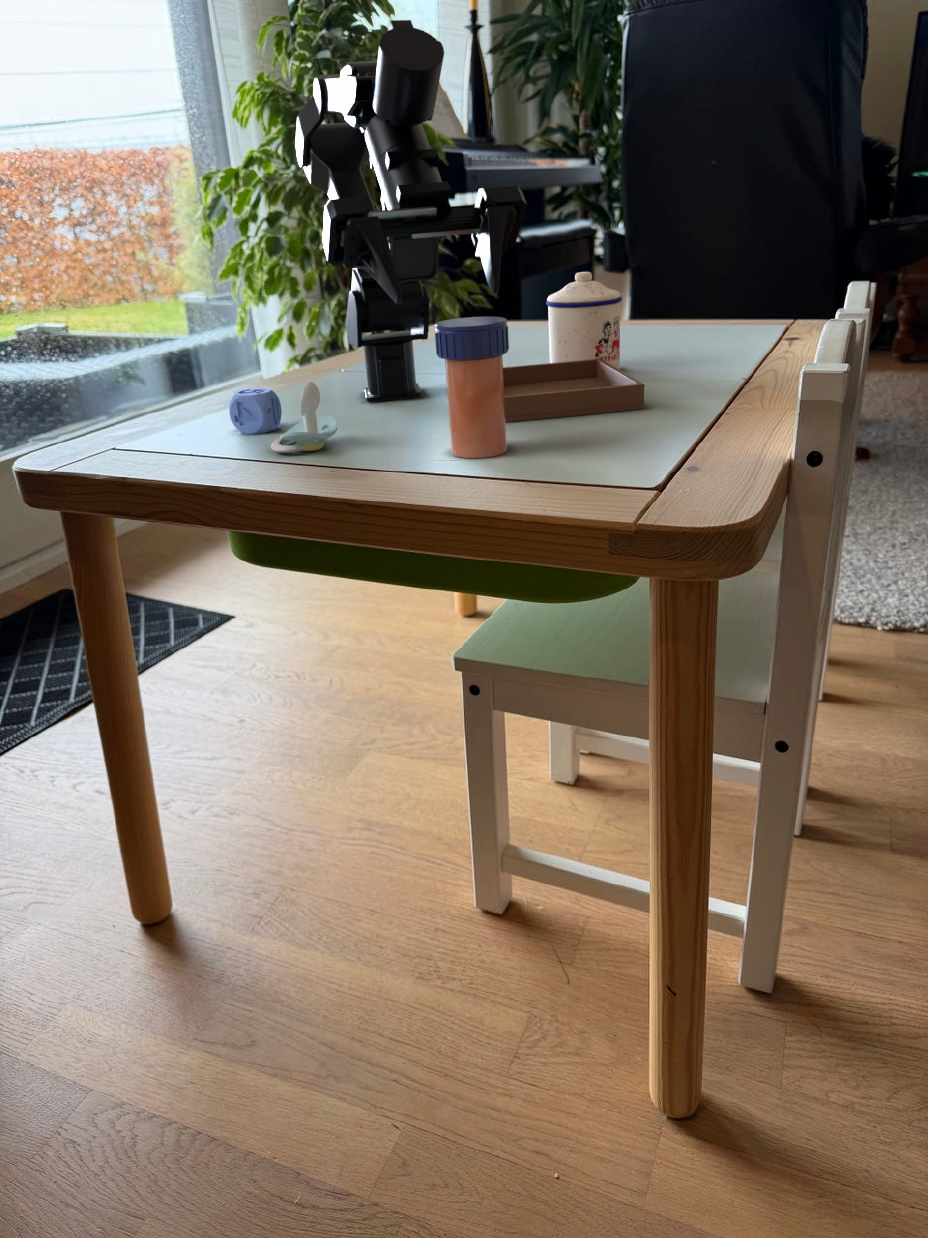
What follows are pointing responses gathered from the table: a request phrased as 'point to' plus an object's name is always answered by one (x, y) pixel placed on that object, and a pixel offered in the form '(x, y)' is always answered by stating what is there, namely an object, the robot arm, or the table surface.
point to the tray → (568, 390)
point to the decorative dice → (255, 410)
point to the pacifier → (307, 425)
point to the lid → (471, 338)
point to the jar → (476, 407)
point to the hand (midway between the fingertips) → (448, 295)
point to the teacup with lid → (584, 322)
